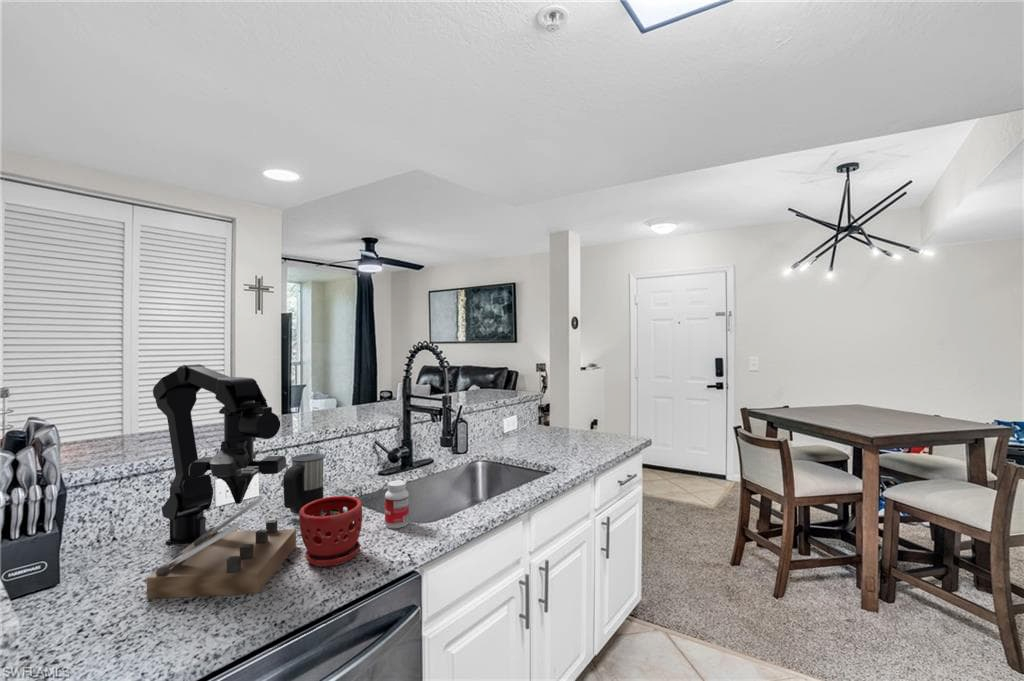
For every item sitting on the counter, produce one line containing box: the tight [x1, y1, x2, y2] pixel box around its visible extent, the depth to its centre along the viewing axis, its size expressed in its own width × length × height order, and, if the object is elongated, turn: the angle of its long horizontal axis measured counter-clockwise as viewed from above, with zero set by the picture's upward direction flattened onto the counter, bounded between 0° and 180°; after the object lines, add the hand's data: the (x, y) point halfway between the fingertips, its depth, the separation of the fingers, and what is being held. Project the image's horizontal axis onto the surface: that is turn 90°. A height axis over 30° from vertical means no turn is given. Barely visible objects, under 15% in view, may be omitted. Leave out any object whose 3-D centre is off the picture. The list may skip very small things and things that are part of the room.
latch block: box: [146, 519, 297, 600], centre depth 101 cm, size 20×21×6 cm
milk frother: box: [282, 453, 339, 513], centre depth 136 cm, size 14×16×15 cm
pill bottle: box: [384, 479, 410, 529], centre depth 126 cm, size 6×6×11 cm
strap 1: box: [167, 521, 241, 568], centre depth 95 cm, size 14×3×1 cm, turn 95°
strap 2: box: [204, 495, 264, 539], centre depth 108 cm, size 14×3×1 cm
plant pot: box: [298, 495, 363, 567], centre depth 107 cm, size 13×13×12 cm
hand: (238, 503), depth 108 cm, fingers closed
